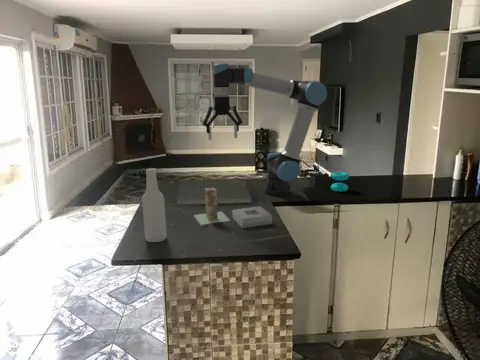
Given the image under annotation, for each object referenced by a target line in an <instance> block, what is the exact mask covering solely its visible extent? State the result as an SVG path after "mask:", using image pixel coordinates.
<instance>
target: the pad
mask: <svg viewBox="0 0 480 360" xmlns="http://www.w3.org/2000/svg"><path fill="white" fill-rule="evenodd" d="M217 216H218V219H211V220H208V219H207V217H206V213H199V214H194V215H193V218H194V219H195V221H196V222H197V223H198V224H199V226H200V227H209V224H216V223H222V222H223V223H224V222H230V221H231V219H229V217H227V215H226V214H225V213H224V212H223V211H217Z"/></svg>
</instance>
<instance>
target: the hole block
mask: <svg viewBox="0 0 480 360" xmlns="http://www.w3.org/2000/svg"><path fill="white" fill-rule="evenodd" d="M231 212H232V213H231V214H232V219H233V220H234V221H235V222H236V223H237V224H238V225H239V226H240V227H241V228H242V229H246V228H251V227H258V226H267V225H272V224H273V215H272V214H271V213H270V212H269V211H267V210H266V209H265V208H263V207H262V206H260V205H259V206H251V207H243V208H236V209H232V211H231Z"/></svg>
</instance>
